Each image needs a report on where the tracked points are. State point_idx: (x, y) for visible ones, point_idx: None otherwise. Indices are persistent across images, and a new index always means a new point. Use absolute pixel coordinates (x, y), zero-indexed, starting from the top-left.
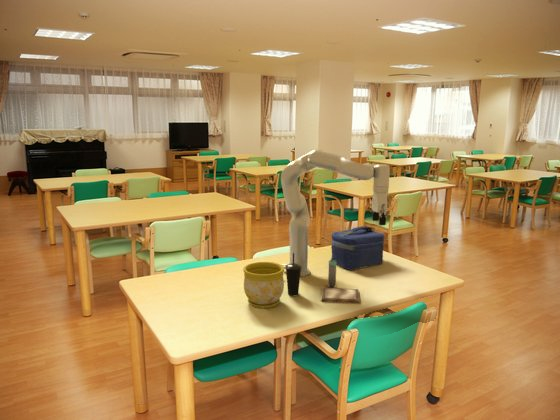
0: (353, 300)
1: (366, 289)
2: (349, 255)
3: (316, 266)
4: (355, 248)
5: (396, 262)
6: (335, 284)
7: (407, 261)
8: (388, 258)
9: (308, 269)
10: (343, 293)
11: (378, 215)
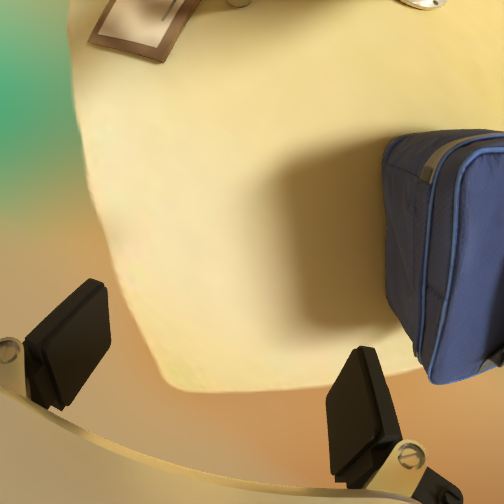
0: (96, 26)
1: (172, 97)
2: (420, 150)
3: (457, 61)
4: (422, 180)
5: None
6: (229, 3)
7: None
8: None
9: (417, 2)
10: (145, 7)
11: (332, 449)
